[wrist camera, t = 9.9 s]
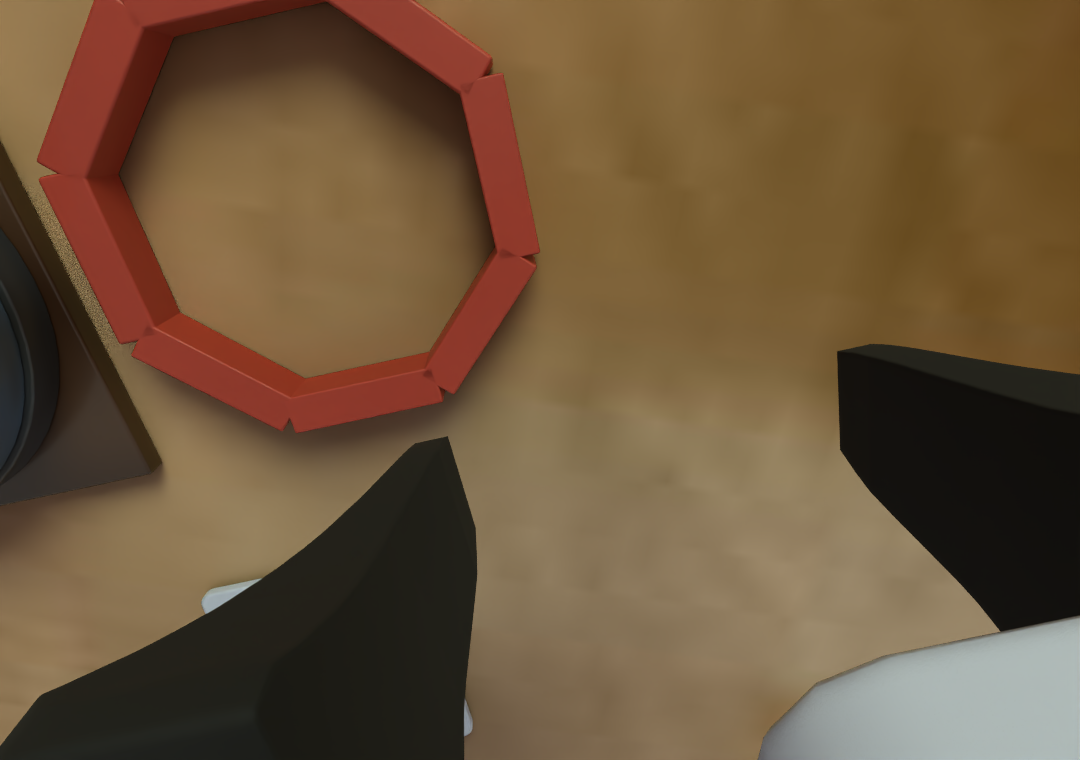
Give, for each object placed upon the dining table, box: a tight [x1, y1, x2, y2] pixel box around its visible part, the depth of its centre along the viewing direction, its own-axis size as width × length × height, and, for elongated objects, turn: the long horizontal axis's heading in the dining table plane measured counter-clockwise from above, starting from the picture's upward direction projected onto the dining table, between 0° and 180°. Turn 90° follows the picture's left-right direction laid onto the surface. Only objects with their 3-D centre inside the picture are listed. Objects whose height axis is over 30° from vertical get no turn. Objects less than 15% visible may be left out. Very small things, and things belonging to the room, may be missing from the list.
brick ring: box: [37, 0, 540, 433], centre depth 18 cm, size 12×12×2 cm
